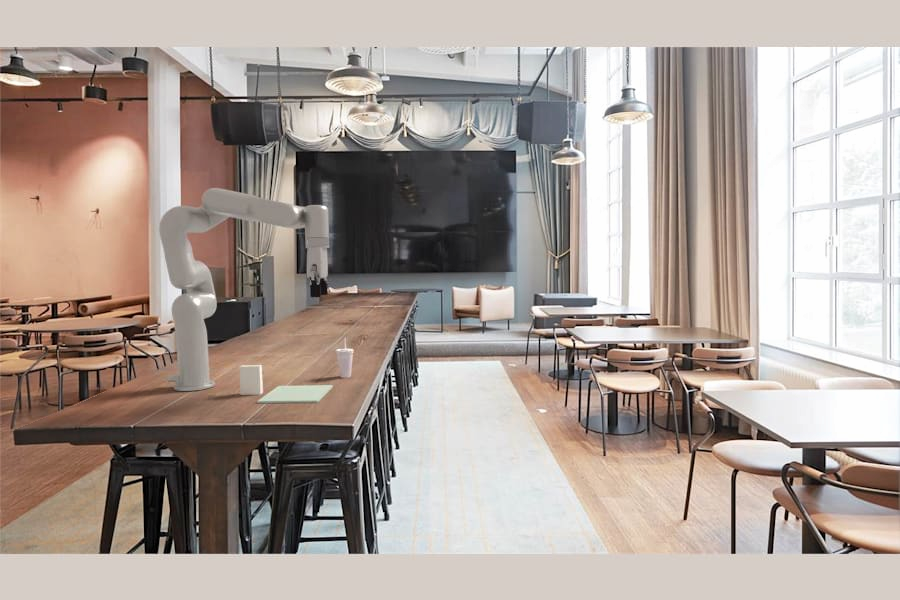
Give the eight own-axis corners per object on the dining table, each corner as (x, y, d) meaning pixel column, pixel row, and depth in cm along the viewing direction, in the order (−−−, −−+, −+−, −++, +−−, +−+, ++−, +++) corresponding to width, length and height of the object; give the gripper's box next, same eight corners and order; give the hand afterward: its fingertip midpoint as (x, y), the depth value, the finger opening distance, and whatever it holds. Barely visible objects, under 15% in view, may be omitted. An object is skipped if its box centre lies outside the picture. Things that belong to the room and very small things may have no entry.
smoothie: (342, 379, 203) (340, 339, 202) (333, 376, 208) (331, 337, 207) (357, 376, 207) (356, 337, 206) (348, 373, 212) (347, 335, 211)
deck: (240, 394, 183) (239, 366, 183) (243, 392, 186) (241, 365, 185) (260, 394, 183) (259, 366, 182) (263, 392, 185) (261, 364, 185)
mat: (257, 403, 172) (257, 401, 172) (278, 387, 192) (278, 385, 192) (317, 402, 172) (317, 400, 172) (332, 386, 192) (332, 385, 192)
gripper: (312, 244, 198) (314, 294, 199) (298, 243, 181) (300, 298, 182) (334, 243, 198) (336, 294, 199) (322, 242, 180) (324, 297, 182)
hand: (319, 296), depth 191 cm, fingers open, 9 cm apart
